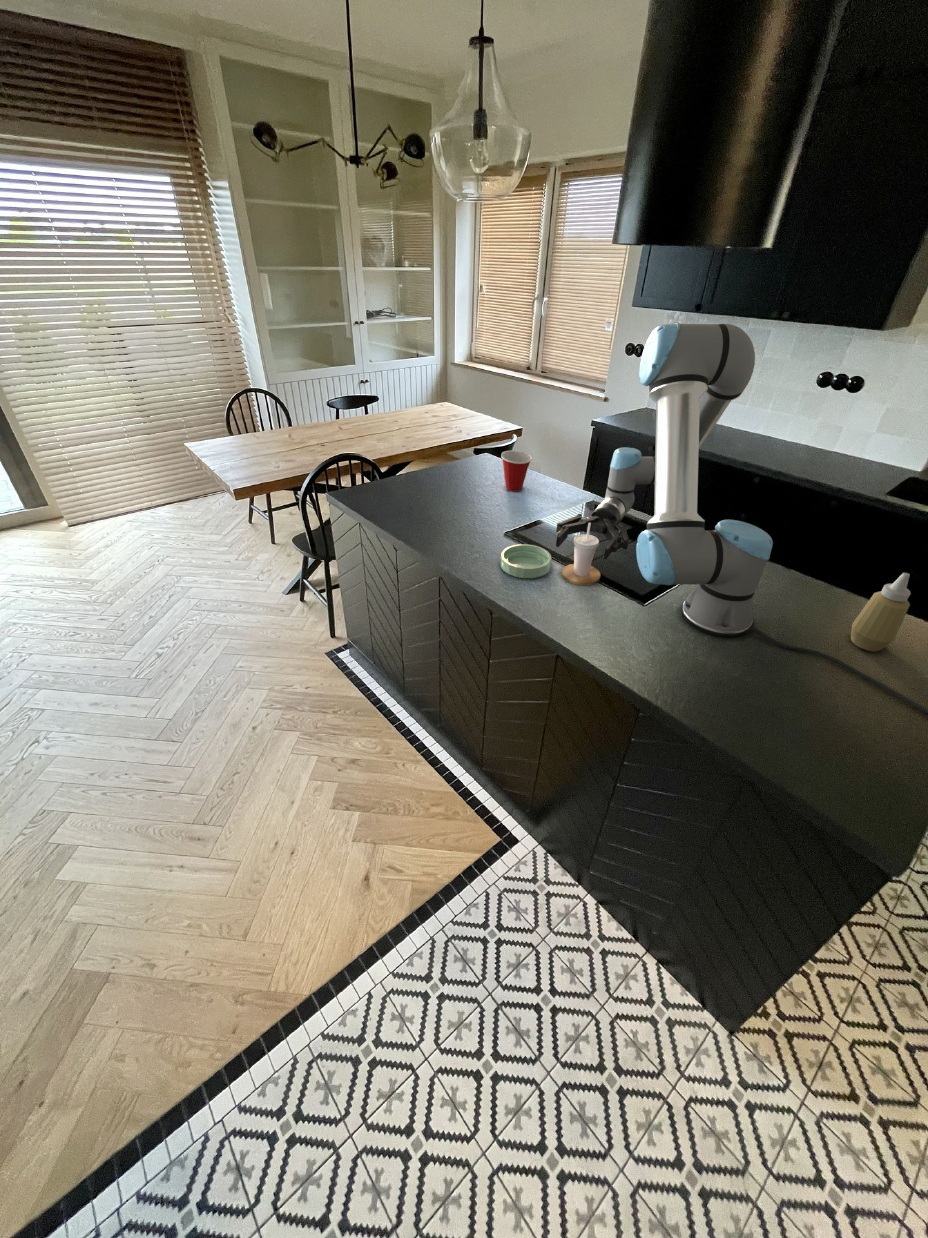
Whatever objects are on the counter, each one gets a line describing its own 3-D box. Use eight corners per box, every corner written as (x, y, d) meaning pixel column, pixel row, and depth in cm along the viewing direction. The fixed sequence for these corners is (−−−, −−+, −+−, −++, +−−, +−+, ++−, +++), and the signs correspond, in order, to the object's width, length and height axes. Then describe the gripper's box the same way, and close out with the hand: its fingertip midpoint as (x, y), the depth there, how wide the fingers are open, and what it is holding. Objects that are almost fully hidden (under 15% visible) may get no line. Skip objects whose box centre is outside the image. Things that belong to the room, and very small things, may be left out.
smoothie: (597, 570, 141) (605, 522, 132) (588, 581, 136) (596, 532, 128) (574, 564, 143) (581, 516, 135) (564, 574, 139) (571, 525, 131)
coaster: (608, 577, 139) (608, 575, 139) (581, 589, 134) (581, 586, 134) (580, 562, 146) (580, 559, 145) (553, 572, 141) (554, 570, 141)
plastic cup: (519, 497, 182) (521, 462, 175) (493, 489, 187) (494, 455, 180) (535, 487, 189) (538, 454, 182) (510, 480, 195) (512, 447, 187)
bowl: (560, 569, 143) (561, 559, 141) (522, 584, 136) (523, 573, 134) (527, 549, 151) (528, 539, 149) (490, 563, 145) (491, 552, 143)
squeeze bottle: (887, 660, 113) (932, 588, 102) (844, 647, 116) (883, 577, 106) (887, 640, 119) (929, 571, 108) (845, 628, 122) (882, 560, 111)
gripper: (648, 538, 145) (626, 573, 129) (564, 519, 154) (535, 549, 139) (654, 512, 140) (632, 546, 125) (568, 494, 150) (537, 523, 134)
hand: (581, 548), depth 132 cm, fingers open, 12 cm apart
